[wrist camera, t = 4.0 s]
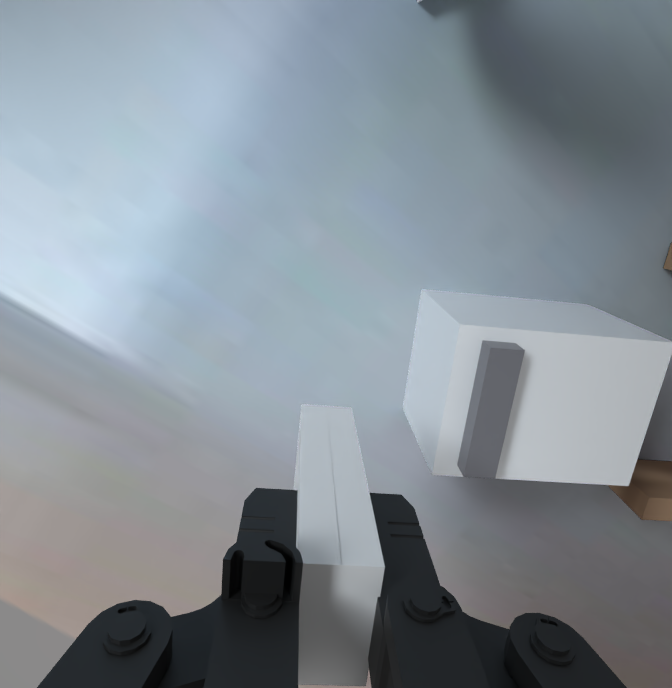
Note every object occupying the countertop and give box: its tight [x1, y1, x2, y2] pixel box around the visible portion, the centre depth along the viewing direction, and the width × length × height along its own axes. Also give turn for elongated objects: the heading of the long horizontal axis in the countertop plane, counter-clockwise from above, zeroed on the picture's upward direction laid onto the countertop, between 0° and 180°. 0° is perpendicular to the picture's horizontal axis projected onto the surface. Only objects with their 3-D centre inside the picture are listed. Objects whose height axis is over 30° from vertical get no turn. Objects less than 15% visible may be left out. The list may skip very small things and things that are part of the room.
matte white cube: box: [403, 289, 672, 486], centre depth 21 cm, size 8×6×7 cm
